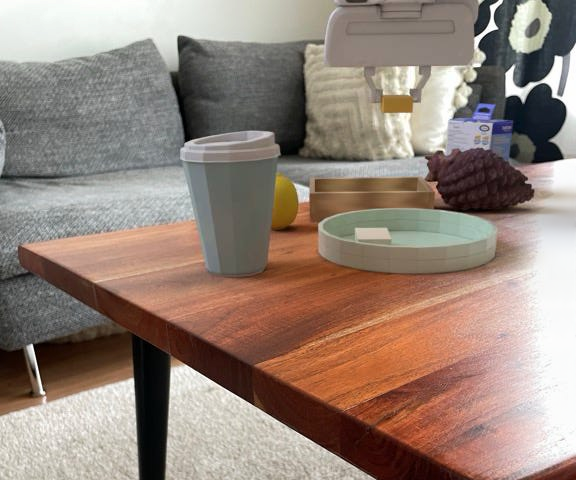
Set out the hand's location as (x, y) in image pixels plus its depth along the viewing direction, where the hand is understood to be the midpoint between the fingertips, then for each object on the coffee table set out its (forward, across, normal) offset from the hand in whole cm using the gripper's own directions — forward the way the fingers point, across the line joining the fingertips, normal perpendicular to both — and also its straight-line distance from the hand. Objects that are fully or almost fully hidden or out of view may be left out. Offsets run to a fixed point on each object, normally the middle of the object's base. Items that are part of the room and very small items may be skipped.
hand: (395, 102), depth 100 cm
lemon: (+16, +16, +9) cm, 25 cm away
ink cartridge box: (+16, -16, -18) cm, 29 cm away
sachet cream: (+15, +4, +21) cm, 26 cm away
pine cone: (+16, -14, -6) cm, 22 cm away
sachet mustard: (+1, 0, 0) cm, 1 cm away
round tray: (+16, 0, +21) cm, 26 cm away
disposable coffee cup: (+16, +20, +29) cm, 39 cm away
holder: (+16, +3, -2) cm, 16 cm away
